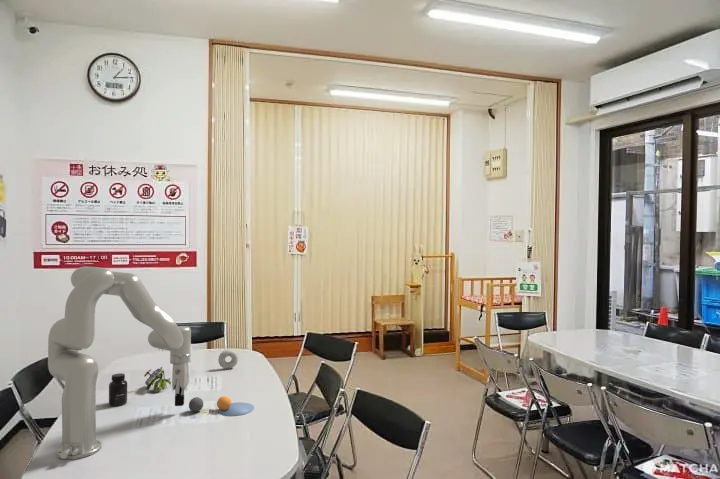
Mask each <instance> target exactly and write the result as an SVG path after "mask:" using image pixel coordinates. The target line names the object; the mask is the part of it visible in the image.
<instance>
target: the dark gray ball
mask: <svg viewBox="0 0 720 479" xmlns="http://www.w3.org/2000/svg"><path fill="white" fill-rule="evenodd" d="M203 407H204V401H203V399H202V398H201V397H198V396H197V397H193V398H192V399H190V401H189V403H188V408H189V410H190V411H192V412H194V413H197V412H198V413H199V412H201V410H202V409H203Z"/></svg>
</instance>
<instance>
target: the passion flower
mask: <svg viewBox="0 0 720 479" xmlns="http://www.w3.org/2000/svg"><path fill="white" fill-rule="evenodd" d="M151 371H152V368H150V369H148V370H147V371H146V372H145V374H144V378H145V377H146V376H148V375H149V377H148V378H147V379H146V380H145V381H144V384H145V385H146V387H145V389H146V390H150V389H151V386H153V393H155V394H157V392H158V391H159V392H160V391H162V390H164V389H165V388H168V387H167V384H170V385H172V381H171V380H172V379H171V377H168V378H165V370H164V368H163V366H161V367H159V368H157V369H155V370H154V371H152V372H151ZM150 372H151V373H150Z"/></svg>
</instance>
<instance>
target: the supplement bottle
mask: <svg viewBox="0 0 720 479" xmlns="http://www.w3.org/2000/svg"><path fill="white" fill-rule="evenodd" d="M125 378H126V375H125V373H115V374H112V375H111V381H110V382H109V384H108V405H109V406H111V407H120V406H124V405H126V404H127V402H128V381H127V380H126V379H125Z"/></svg>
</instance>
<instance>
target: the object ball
mask: <svg viewBox="0 0 720 479" xmlns="http://www.w3.org/2000/svg"><path fill="white" fill-rule="evenodd" d="M231 403H232V400H231V398H230V397H229V396H228V395H223V396H220V397H219V398H218V399H217V402H216V406H217V409H220V410H223V411H224V410H227V409H229V407H230V406H231Z"/></svg>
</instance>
